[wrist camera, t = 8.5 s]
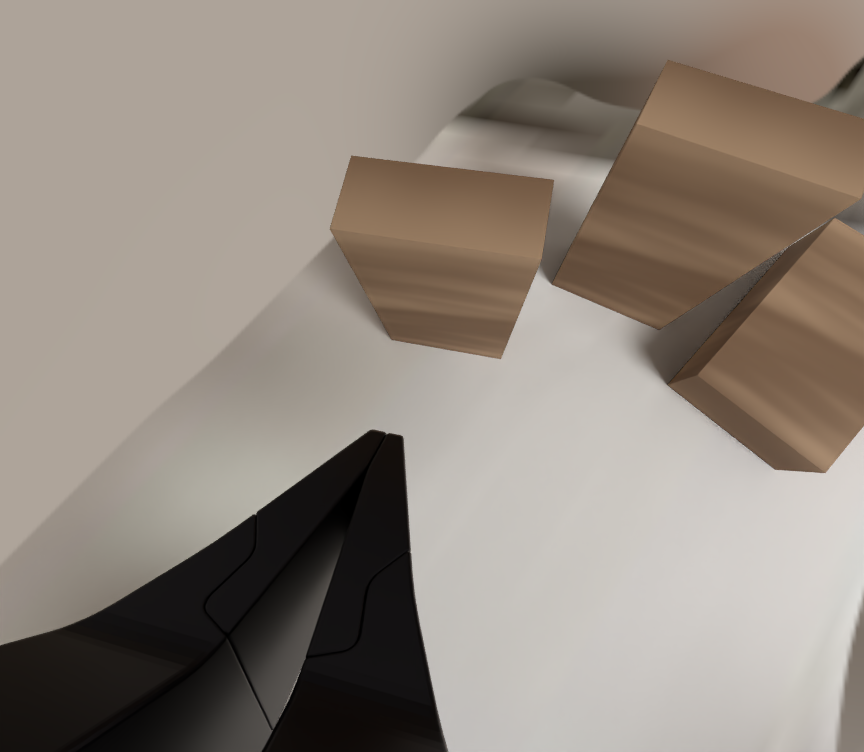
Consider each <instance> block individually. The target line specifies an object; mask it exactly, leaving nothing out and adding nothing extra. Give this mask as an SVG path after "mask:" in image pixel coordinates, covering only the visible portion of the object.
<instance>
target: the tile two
mask: <svg viewBox="0 0 864 752" xmlns="http://www.w3.org/2000/svg"><path fill="white" fill-rule="evenodd" d="M553 184H554V180H550V179H542V178H533V177H525V176H517V175H508V174H500V173H491V172H483V171H475V170H466V169H458V168H450V167H441V166H433V165H425V164H416V163H407V162H399V161H390V160H383V159H374V158H366V157H358V156H351V159H350V162H349V165H348V169H347V172H346V175H345V179H344V182H343V186H342V189H341V193H340V196H339V199H338V203H337V206H336V209H335V213H334V216H333V219H332V223H331V226H330V230H331V232H332V234H333V235H334V237H335V239H336V241H337V243H338V244H339V246H340V248H341V250H342V252H343V253H344V255H345V257H346V259H347V260H348V262H349V264H350V266H351V268H352V269H353V271H354V273H355V275H356V277H357V278H358V280H359V282H360V284H361V286H362V287H363V289H364V291H365V293H366V294H367V296H368V298H369V300H370V302H371V303H372V305H373V307H374V309H375V311H376V312H377V314H378V316H379V318H380V320H381V321H382V323H383V325H384V327H385V328H386V330H387V332H388V334H389V336H390V337H391V339H392V340H396V341H402V342H407V343H413V344H419V345H424V346H430V347H436V348H441V349H447V350H452V351H458V352H464V353H469V354H475V355H481V356H486V357H492V358H498V359H501V357H502V355H503V352H504V350H505V347H506V345H507V343H508V340H509V338H510V335H511V333H512V330H513V328H514V325H515V323H516V321H517V318H518V316H519V313H520V311H521V308H522V306H523V303H524V301H525V299H526V296H527V294H528V291H529V289H530V286H531V284H532V282H533V279H534V277H535V274H536V272H537V269H538V267H539V264H540V262H541V260H542V254H543V247H544V241H545V235H546V228H547V222H548V216H549V209H550V203H551V197H552V190H553Z"/></svg>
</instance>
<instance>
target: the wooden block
mask: <svg viewBox="0 0 864 752" xmlns="http://www.w3.org/2000/svg"><path fill="white" fill-rule="evenodd" d="M668 386H669V387H671V388H672V389H673V390H674V391H676V392H677V393H678V394H680V395H681V396H682V397H683V398H685V399H686V400H687V401H688V402H690V403H691V404H692V405H694V406H695V407H696V408H697V409H699V410H700V411H701V412H703V413H704V414H705V415H706V416H708V417H709V418H710V419H711V420H713V421H714V422H715V423H717V424H718V425H719V426H720V427H722V428H723V429H724V430H726V431H727V432H728V433H729V434H731V435H732V436H733V437H734V438H736V439H737V440H738V441H740V442H741V443H742V444H743V445H745V446H746V447H747V448H748V449H750V450H751V451H752V452H754V453H755V454H756V455H757V456H759V457H760V458H761V459H763V460H764V461H765V462H766V463H768V464H769V465H770V466H771V467H773V468H774V469H775V470H788V471H803V472H818V473H826V471H827V470H828V469H829V468H830V467H831V465H832V464H833V463H834V462H835V460H836V459H837V458H838V457H839V456H840V454H841V453H842V452H843V451H844V449H845V448H846V447H847V446H848V445H849V443H850V442H851V441H852V440H853V438H854V437H855V436H856V435H857V433H858V432H859V431H860V430H861V429H862V427H863V426H864V235H862V234H860V233H859V232H857V231H856V230H854V229H852V228H851V227H849V226H847V225H846V224H844V223H842V222H841V221H839V220H837V219H836V218H834V219H832V220H831V221H829V222H827V223H826V224H824V225H823V226H821V227H819V228H818V229H816V230H815V231H813V232H812V233H810V234H808V235H807V236H805V237H804V238H802V239H800V240H799V241H797V242H796V243H794V244H793V245H791V246H789V247H788V248H787V249H786V251H785V252H784V253H783V254H782V255H781V256H780V257H779V259H778V260H777V261H776V262H775V263H774V264H773V265H772V267H771V268H770V269H769V270H768V271H767V272H766V273H765V275H764V276H763V277H762V278H761V279H760V280H759V281H758V282H757V284H756V285H755V286H754V287H753V288H752V289H751V290H750V292H749V293H748V294H747V295H746V296H745V297H744V298H743V300H742V301H741V302H740V303H739V304H738V305H737V306H736V308H735V309H734V310H733V311H732V312H731V313H730V314H729V315H728V317H727V318H726V319H725V320H724V321H723V322H722V323H721V325H720V326H719V327H718V328H717V329H716V330H715V331H714V333H713V334H712V335H711V336H710V337H709V338H708V339H707V340H706V342H705V343H704V344H703V345H702V346H701V347H700V348H699V350H698V351H697V352H696V353H695V354H694V355H693V356H692V358H691V359H690V360H689V361H688V362H687V363H686V364H685V366H684V367H683V368H682V369H681V370H680V371H679V372H678V373H677V375H676V376H675V377H674V378H673V379H672V380H671V381H670V383H669V384H668Z"/></svg>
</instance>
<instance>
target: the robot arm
mask: <svg viewBox="0 0 864 752" xmlns="http://www.w3.org/2000/svg"><path fill="white" fill-rule="evenodd" d="M410 552H411V545H410V530H409V515H408V499H407V484H406V469H405V453H404V439H403V436H401V435H397V434H392V433H388V434H386V433H385V432H382V431H377V430H370V431H368V432H367V433H365V434H364V435H363V436H361V437H360V438H358V439H357V440H356V441H354V442H353V443H351V444H350V445H349V446H347V447H346V448H345V449H343V450H342V451H340V452H339V453H338V454H336V455H335V456H334V457H332V458H331V459H329V460H328V461H327V462H325V463H324V464H322V465H321V466H320V467H318V468H317V469H316V470H314V471H313V472H311V473H310V474H309V475H307V476H306V477H305V478H303V479H302V480H300V481H299V482H298V483H296V484H295V485H294V486H292V487H291V488H289V489H288V490H287V491H285V492H284V493H282V494H281V495H280V496H278V497H277V498H276V499H274V500H273V501H271V502H270V503H269V504H267V505H266V506H265V507H263V508H262V509H260V510H259V511H258V512H257V513H256V515H255V514H254V515H252V516H250V517H249V518H248V519H246V520H245V521H244V522H242V523H241V524H239V525H238V526H237V527H235V528H234V529H232V530H231V531H229V532H228V533H226V534H225V535H224V536H222V537H221V538H219V539H218V540H216V541H215V542H213V543H212V544H210V545H209V546H207V547H205V548H204V549H202V550H201V551H199V552H198V553H196V554H194V555H193V556H191V557H190V558H188V559H186V560H185V561H183V562H182V563H180V564H178V565H177V566H175V567H173V568H172V569H170V570H168V571H167V572H165V573H163V574H162V575H160V576H158V577H157V578H155V579H154V580H152V581H150V582H149V583H147V584H145V585H144V586H142V587H140V588H139V589H137V590H135V591H134V592H132V593H130V594H129V595H127V596H126V597H124V598H122V599H121V600H119V601H117V602H116V603H114V604H112V605H110V606H109V607H107V608H105V609H103V610H102V611H100V612H98V613H96V614H94V615H92V616H90V617H87V618H85V619H83V620H81V621H78V622H76V623H74V624H71V625H68V626H66V627H63V628H60V629H57V630H54V631H50V632H47V633H43V634H39V635H36V636H32V637H29V638H25V639H21V640H18V641H14V642H10V643H7V644H3V645H0V752H448V749H447V745H446V742H445V738H444V735H443V731H442V727H441V723H440V719H439V714H438V710H437V706H436V701H435V696H434V691H433V686H432V682H431V677H430V672H429V667H428V662H427V657H426V652H425V647H424V642H423V637H422V632H421V627H420V622H419V617H418V611H417V605H416V599H415V592H414V582H413V572H412V558H411V553H410ZM305 658H306V659H305ZM302 665H303V666H302ZM301 667H302V669H301ZM300 670H301V672H300ZM299 672H300V674H299ZM298 674H299V677H298V680H297V682H296V685H295V687H294V690H293V692H292V694H291V697H290V699H289V701H288V703H287V705H286V707H285V709H284V711H283V713H282V715H281V716H280V714H281V712H282V710H283V707H284V705H285V703H286V701H287V698H288V696H289V694H290V692H291V690H292V687H293V685H294V683H295V681H296V678H297V676H298ZM279 716H280V718H279ZM278 718H279V720H278ZM277 721H278V722H277ZM276 723H277V724H276ZM275 725H276V726H275ZM271 730H273V731H271Z"/></svg>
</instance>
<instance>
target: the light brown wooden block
mask: <svg viewBox="0 0 864 752" xmlns="http://www.w3.org/2000/svg"><path fill="white" fill-rule="evenodd" d="M863 192H864V119H862V118H859V117H856V116H852V115H849V114H846V113H842V112H839V111H836V110H832V109H829V108H826V107H822V106H819V105H816V104H812V103H809V102H806V101H802V100H799V99H796V98H792V97H789V96H786V95H782V94H779V93H776V92H772V91H769V90H766V89H763V88H759V87H756V86H752V85H749V84H746V83H743V82H739V81H736V80H733V79H729V78H726V77H723V76H719V75H716V74H713V73H710V72H706V71H703V70H700V69H696V68H693V67H689V66H686V65H683V64H680V63H676V62H673V61H670V60H668V61H667V63H666V64H665V66H664V68H663V70H662V72H661V74H660V76H659V78H658V80H657V82H656V84H655V85H654V87H653V89H652V91H651V93H650V95H649V97H648V99H647V101H646V103H645V105H644V106H643V108H642V110H641V112H640V114H639V116H638V118H637V120H636V122H635V124H634V126H633V128H632V129H631V131H630V133H629V135H628V137H627V139H626V141H625V143H624V145H623V147H622V149H621V151H620V152H619V154H618V156H617V158H616V160H615V162H614V164H613V166H612V168H611V170H610V172H609V174H608V175H607V177H606V179H605V181H604V183H603V185H602V187H601V189H600V191H599V193H598V195H597V197H596V198H595V200H594V202H593V204H592V206H591V208H590V210H589V212H588V214H587V216H586V218H585V220H584V221H583V223H582V225H581V227H580V229H579V231H578V233H577V235H576V237H575V239H574V241H573V243H572V244H571V246H570V248H569V250H568V252H567V254H566V256H565V258H564V260H563V263H562V265H561V267H560V269H559V271H558V273H557V275H556V277H555V279H554V281H553V283H552V285H554V286H557V287H559V288H561V289H564V290H566V291H569V292H571V293H573V294H576V295H578V296H580V297H583V298H585V299H587V300H590V301H592V302H594V303H597V304H599V305H601V306H604V307H606V308H609V309H611V310H613V311H616V312H618V313H620V314H623V315H625V316H627V317H630V318H632V319H634V320H637V321H639V322H641V323H644V324H646V325H649V326H651V327H653V328H656V329H658V330H660V329H661V328H663V327H664V326H666V325H667V324H669V323H670V322H672V321H673V320H675V319H677V318H678V317H680V316H681V315H683V314H684V313H686V312H687V311H689V310H690V309H692V308H694V307H695V306H697V305H698V304H700V303H701V302H703V301H704V300H706V299H707V298H709V297H710V296H712V295H714V294H715V293H717V292H718V291H720V290H721V289H723V288H724V287H726V286H727V285H729V284H730V283H732V282H734V281H735V280H737V279H738V278H740V277H741V276H743V275H744V274H746V273H747V272H749V271H750V270H752V269H754V268H755V267H757V266H758V265H760V264H761V263H763V262H764V261H766V260H767V259H769V258H771V257H772V256H774V255H775V254H777V253H778V252H780V251H781V250H783V249H784V248H786V247H787V246H789V245H791V244H792V243H794V242H795V241H797V240H798V239H800V238H801V237H803V236H804V235H806V234H807V233H809V232H811V231H812V230H814V229H815V228H817V227H818V226H820V225H821V224H823V223H824V222H826V221H828V220H829V219H831V218H832V217H834V216H835V215H837V214H838V213H840V212H841V211H843V210H844V209H846V208H848V207H849V206H851V205H852V204H854V203H855V202H857V201H858V200H860V199H861V197H862V194H863Z"/></svg>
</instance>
